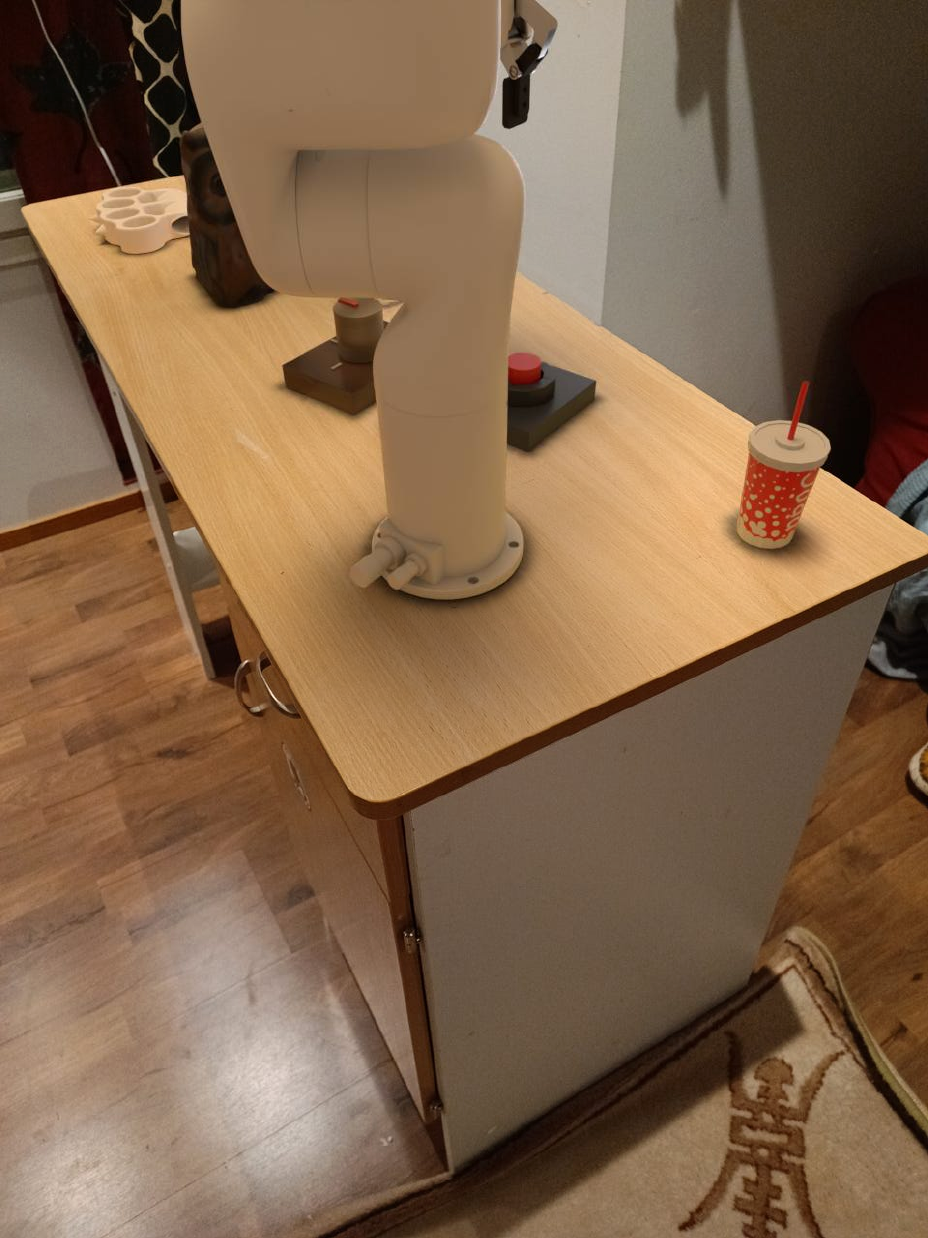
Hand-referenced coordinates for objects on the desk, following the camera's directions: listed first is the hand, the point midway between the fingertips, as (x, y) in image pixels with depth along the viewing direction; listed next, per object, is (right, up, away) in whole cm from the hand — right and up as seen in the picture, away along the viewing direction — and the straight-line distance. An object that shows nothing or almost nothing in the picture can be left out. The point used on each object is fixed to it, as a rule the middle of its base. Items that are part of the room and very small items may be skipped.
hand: (473, 116), depth 83 cm
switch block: (+5, -26, +6) cm, 27 cm away
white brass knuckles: (-47, +9, +44) cm, 65 cm away
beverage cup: (+25, -40, -8) cm, 48 cm away
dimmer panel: (-12, -21, +12) cm, 27 cm away
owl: (-30, -4, +30) cm, 42 cm away
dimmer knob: (-12, -19, +11) cm, 25 cm away
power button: (+5, -24, +4) cm, 24 cm away
